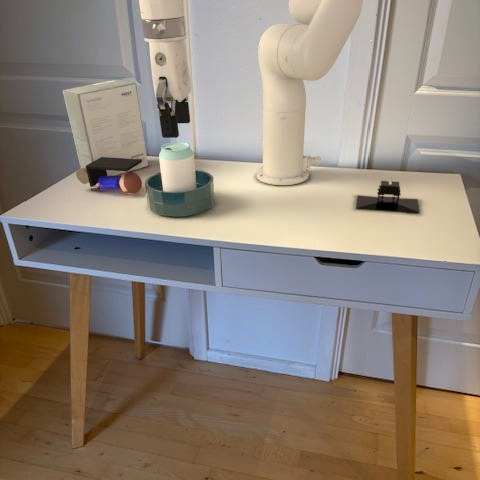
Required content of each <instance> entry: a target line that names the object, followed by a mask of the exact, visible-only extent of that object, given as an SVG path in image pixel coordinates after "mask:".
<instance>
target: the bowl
mask: <svg viewBox="0 0 480 480" xmlns="http://www.w3.org/2000/svg"><path fill="white" fill-rule="evenodd" d="M195 175H196V187H197V189H193V190H188V191H178V192H170V191H163V185H162V177H161V171H159V172H156V173H153V174H152V175H150V176H148V177H147V178H146V179H145V181H144V188H145V195H146V203H147V207H148V208H149V210H150V211H151V212H153V213H155V214H157V215H161V216H166V217H188V216H193V215H198V214H200V213H203V212H206V211H208V210H209V209H211V208H212V207H213V206H214V205H215V202H216V201H215V200H216V199H215V183H214V176H213V175H212V173H210V172H208V171H205V170H201V169H198V168H197V169H196V168H195Z"/></svg>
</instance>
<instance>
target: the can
mask: <svg viewBox="0 0 480 480" xmlns="http://www.w3.org/2000/svg"><path fill="white" fill-rule="evenodd" d="M160 148H161V150H160V152H159V154H158V159H159V167H160V168H159V169H160V172H161V177H162V185H163V191H170V192H178V191H188V190H193V189H197V187H196V175H195V169H196V164H195V153H194V151H193V150H192V149H191V145H190V144H189V143H187V142H183V141H173V142H168V143H164V144H162V145H161V146H160Z"/></svg>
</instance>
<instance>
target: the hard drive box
mask: <svg viewBox="0 0 480 480" xmlns="http://www.w3.org/2000/svg"><path fill="white" fill-rule="evenodd" d="M62 94H63V97H64V98H63V99H64V103H65V105H66V106H65V107H66V112H67V114H68V119H69V124H70V128H71V133H72V135H73V136H72V137H73V140H74V141H73V142H74V144H75V150H76V155H77V157H78V161H79V166H80V169H81V168H86V165H88V164H90V163H91V162H93V161H95V160H97V159H99V158H101V157H109V158H126V159H141V160H142V162H141V163H140V164H138V165H136V166H135V167H133V168H132V169H130V170H128V171H114V170H106V171H107V176H120V175H123V174H124V173H126V172H133V171H136V170H140V169H142V168H146V167H148V166H149V162H148V156H147V155H148V154H147V148H146V142H145V135H144V128H143V122H142V121H143V120H142V114H141V109H140V107H141V106H140V103H139V101H140V100H139V94H138V88H137V83H136V82H134V81H130V80H125V79H121V78H119V79H114V80H108V81H102V82H97V83H92V84H87V85H82V86H77V87H72V88H67V89H63V90H62Z"/></svg>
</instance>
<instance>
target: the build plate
mask: <svg viewBox="0 0 480 480" xmlns="http://www.w3.org/2000/svg"><path fill="white" fill-rule="evenodd" d="M401 191H402V190H401V186H400V181H392V180H391V182H390V181H389V180H381V181H380V184H379V185H378V187H377V193H376V194H377V196H376V195H375V196H374V195H357V199H356V204H355V210H358V211H359V210H360V211H371V212H372V211H374V212H390V213H402V214H410V215H418V214H419V213H420V208H419V199H418V198H409V197H408V198H406V197H400V196H402V195H401V194H402V193H401ZM386 195H389V196H386Z"/></svg>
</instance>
